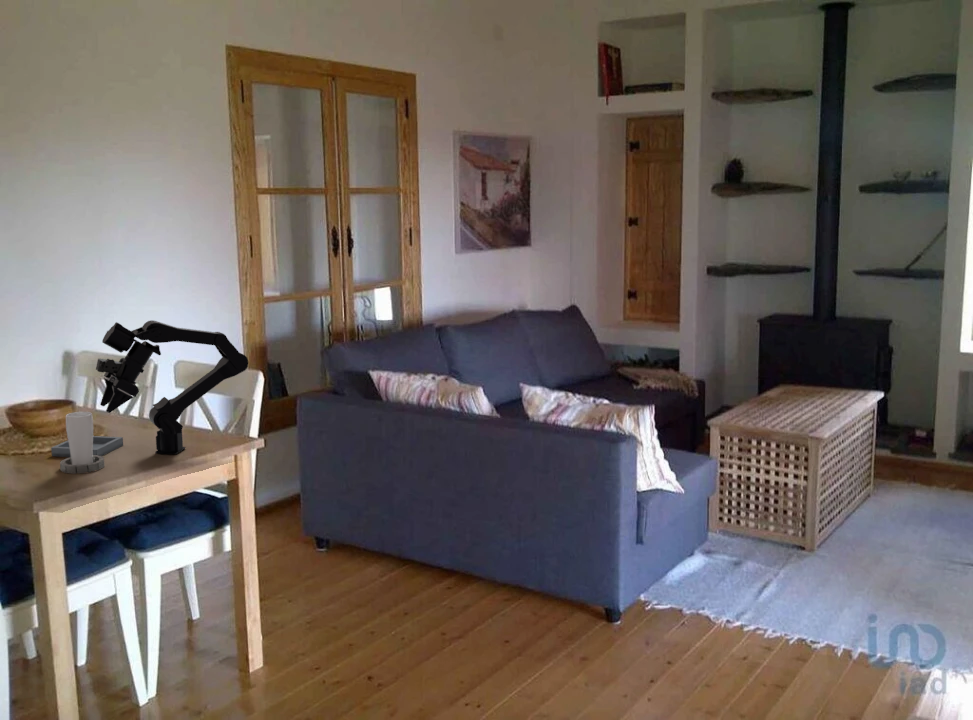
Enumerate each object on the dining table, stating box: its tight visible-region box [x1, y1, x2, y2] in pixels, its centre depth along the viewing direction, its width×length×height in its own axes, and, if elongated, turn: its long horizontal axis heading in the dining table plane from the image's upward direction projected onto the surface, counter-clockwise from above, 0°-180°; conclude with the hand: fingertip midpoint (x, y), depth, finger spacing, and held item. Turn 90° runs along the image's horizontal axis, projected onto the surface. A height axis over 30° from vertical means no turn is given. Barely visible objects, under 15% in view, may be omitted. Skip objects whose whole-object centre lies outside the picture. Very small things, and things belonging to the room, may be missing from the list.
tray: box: [50, 435, 124, 458], centre depth 275 cm, size 14×14×2 cm
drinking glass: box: [65, 411, 94, 465], centre depth 257 cm, size 7×7×15 cm
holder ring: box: [59, 455, 105, 475], centre depth 259 cm, size 11×11×2 cm
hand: (104, 408), depth 264 cm, fingers open, 9 cm apart
